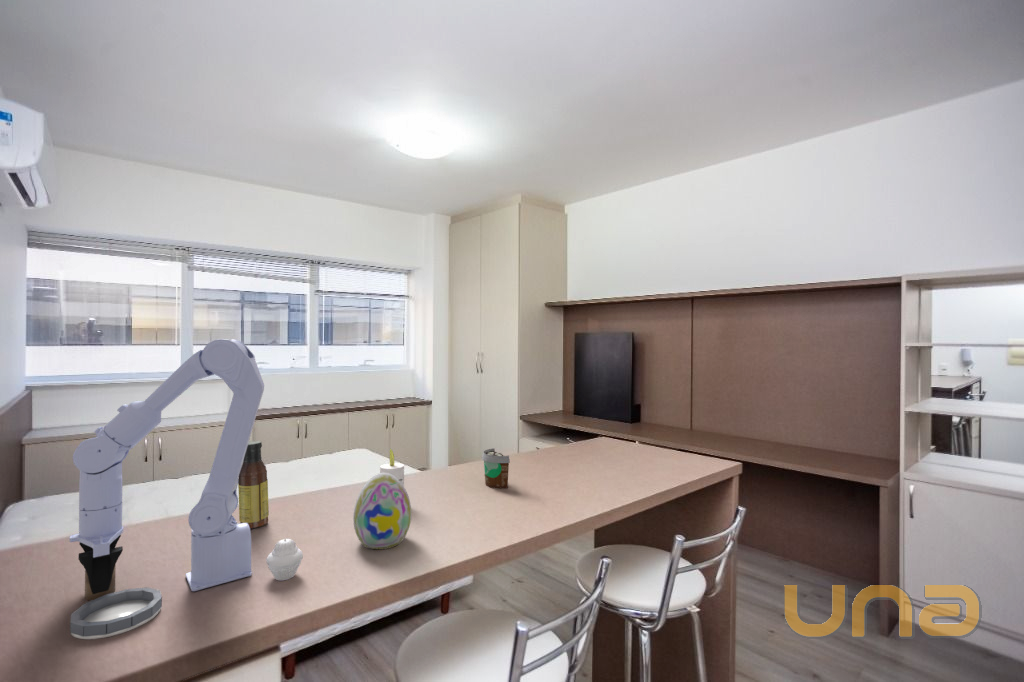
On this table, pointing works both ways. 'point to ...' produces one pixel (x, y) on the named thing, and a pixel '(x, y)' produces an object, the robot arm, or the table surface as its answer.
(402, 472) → the candle
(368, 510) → the decorative egg
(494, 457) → the food container
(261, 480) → the sauce bottle
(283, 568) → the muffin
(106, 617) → the ring dish
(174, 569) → the table surface
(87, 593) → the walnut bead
